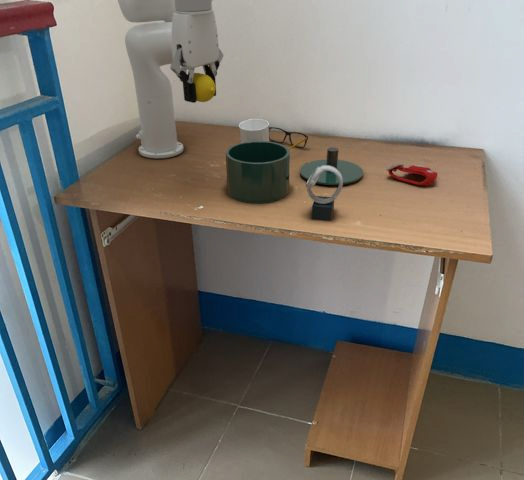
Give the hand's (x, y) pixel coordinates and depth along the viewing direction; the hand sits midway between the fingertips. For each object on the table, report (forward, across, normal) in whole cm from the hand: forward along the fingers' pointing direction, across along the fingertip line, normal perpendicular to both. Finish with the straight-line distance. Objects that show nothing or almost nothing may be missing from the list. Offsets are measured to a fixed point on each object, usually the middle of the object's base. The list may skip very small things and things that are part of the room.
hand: (200, 97), depth 125 cm
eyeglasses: (+22, -31, -3) cm, 38 cm away
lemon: (+1, 0, 0) cm, 1 cm away
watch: (+22, -6, +30) cm, 38 cm away
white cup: (+22, -22, -2) cm, 31 cm away
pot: (+22, -8, +10) cm, 25 cm away
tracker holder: (+22, -37, +36) cm, 56 cm away
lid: (+21, -27, +19) cm, 39 cm away
